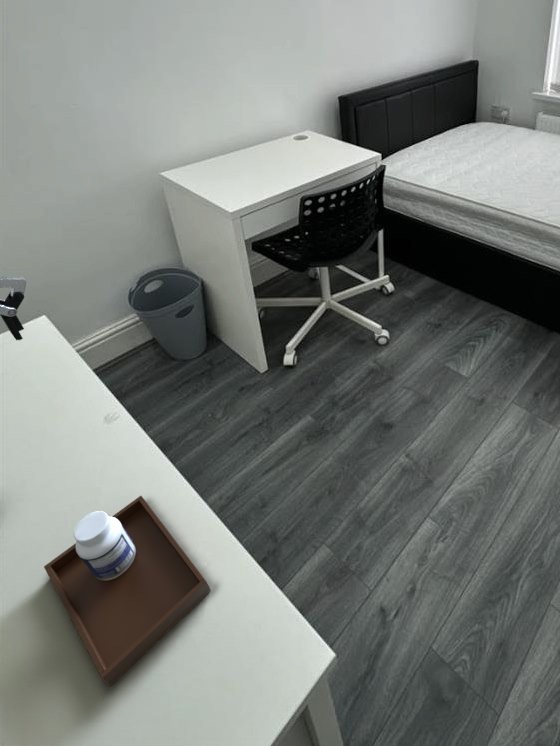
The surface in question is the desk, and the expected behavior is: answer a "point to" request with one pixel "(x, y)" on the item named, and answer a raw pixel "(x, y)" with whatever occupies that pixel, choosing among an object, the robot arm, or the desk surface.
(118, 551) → the pill bottle
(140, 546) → the tray
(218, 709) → the desk surface
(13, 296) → the robot arm
